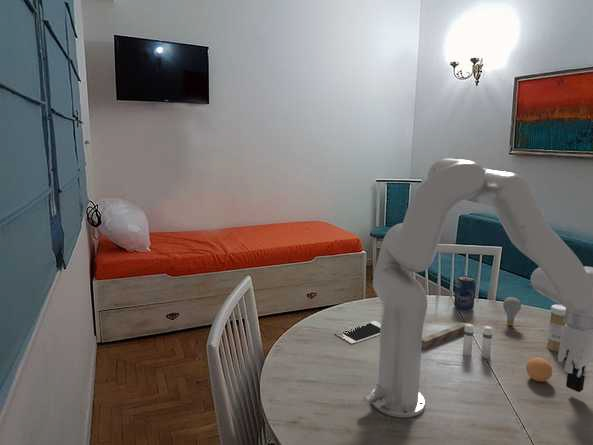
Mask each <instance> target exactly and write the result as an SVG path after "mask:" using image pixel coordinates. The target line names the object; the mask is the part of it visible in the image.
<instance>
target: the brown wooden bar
mask: <svg viewBox="0 0 593 445" xmlns="http://www.w3.org/2000/svg"><path fill="white" fill-rule="evenodd" d="M465 324H468V322H467V323H466V322H461V323H459V324H456V325H454V326H451V327H449V328H446V329H442V330H440V331H438V332H435V333H432V334H430V335H428V336H424V337H422V347H421V349H423V350H427V349H429V348H432V347H435V346H436V345H437V346H438V345H439V344H441V343H444V342H446V341H449V340H451V339H454V338H456V337H460V336H461V335H464V330H465Z"/></svg>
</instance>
